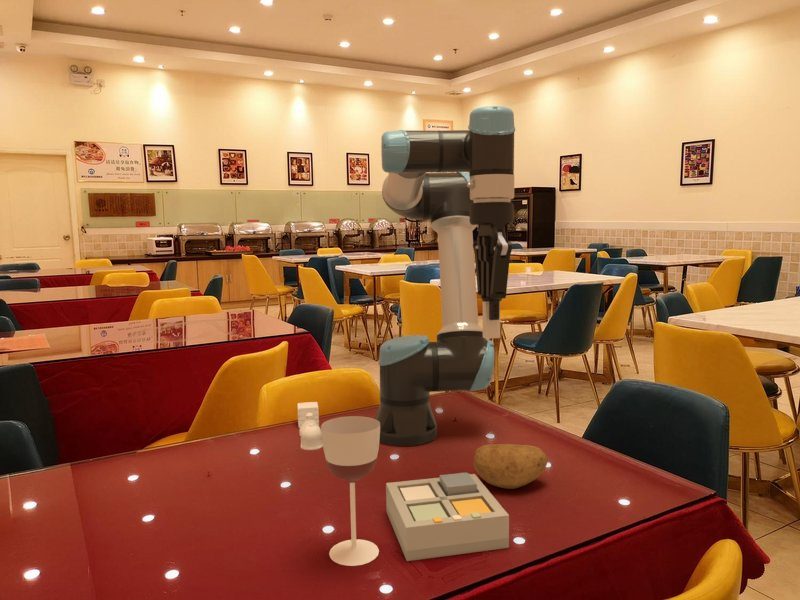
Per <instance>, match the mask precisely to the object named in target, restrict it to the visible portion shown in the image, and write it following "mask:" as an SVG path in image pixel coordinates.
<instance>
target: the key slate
mask: <svg viewBox="0 0 800 600" xmlns="http://www.w3.org/2000/svg"><path fill="white" fill-rule="evenodd" d="M469 474H470V473H468V472H467V471H466V472H456V473H448V474H439V477H440V488H441V489H442V491H443V492H444V494H445V495H446V496H452V495H461V494H470V493H477V484H476V482H475V481H474V480H473V479H472V478H471V476H470V475H469ZM439 477H438V478H439Z"/></svg>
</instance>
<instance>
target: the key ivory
mask: <svg viewBox="0 0 800 600" xmlns="http://www.w3.org/2000/svg"><path fill="white" fill-rule="evenodd" d="M400 493H401V495H402V497H403V499H404V501H408V500H417V499H426V498H435V495H434V494H433V492H432V490H431V489H430V487H429V485H425V486H416V487H406V488H400Z"/></svg>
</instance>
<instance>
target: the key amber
mask: <svg viewBox="0 0 800 600" xmlns="http://www.w3.org/2000/svg"><path fill="white" fill-rule="evenodd" d="M451 504H452V506H453V507H454V509H455V510H456V512H457V514H458V515H460V516H463V515H471V513H479V514H480V513H489V512H491V511H490V509H489V508H488V507H487V506H486V504H485V503H484V502H483V500H482V499H481V498H480V499H471V500H463V501H454V502H451Z"/></svg>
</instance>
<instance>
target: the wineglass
mask: <svg viewBox="0 0 800 600" xmlns="http://www.w3.org/2000/svg"><path fill="white" fill-rule="evenodd" d="M320 429H321V433H322V442H323V447H322V449H323V453H324V456H325V461H326V462H325V463H326V465H327V468H328V470H329V471H330V473H332V474H333V475H334V476H335V477H337V478H338V479H341V480H344V481H347V482H349V502H350V509H349V510H350V537H351V538H350V539H347V540H343V541H340V542H338V543H337V544H334V545H333V546H332V548H330V550H329V553H328V555H329V558H330V559H331V560H332V561H333V562H334V563H336V564H338V565H341V566H347V567H349V566H350V567H356V566H362V565H365V564H368V563H370V562H372V561H374V560H376V558H377V557H378V556H379V552H380V550H379V548H378V545H376V544H375V543H374V542H372V541H370V540H366V539H362V538H361V539H359V538H358V539H357V516H356V515H357V514H356V482H357V481H359V480H361V479H364V478H365V477H366V476H368V475H369V474H371V472H372V471H373V470H374V469H375V467H376V464H377V460H378V453H379V447H380V442H379V440H380V422H379V421H378V420H376V418H373V417H370V416H369V417H368V416H362V415H359V416H358V415H354V416H351V415H350V416H349V415H348V416H339V417H334V418H331V419H328V420H326V421H323V423H322V424H321V425H320Z"/></svg>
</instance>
